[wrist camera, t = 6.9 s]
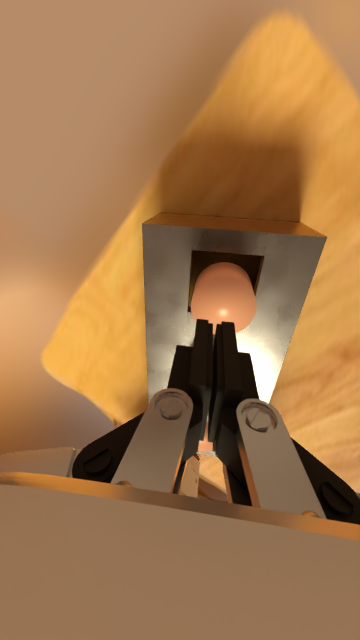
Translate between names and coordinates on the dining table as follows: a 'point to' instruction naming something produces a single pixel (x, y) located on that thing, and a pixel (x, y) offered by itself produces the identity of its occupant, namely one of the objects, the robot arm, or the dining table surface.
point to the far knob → (205, 443)
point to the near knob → (224, 296)
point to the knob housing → (270, 289)
